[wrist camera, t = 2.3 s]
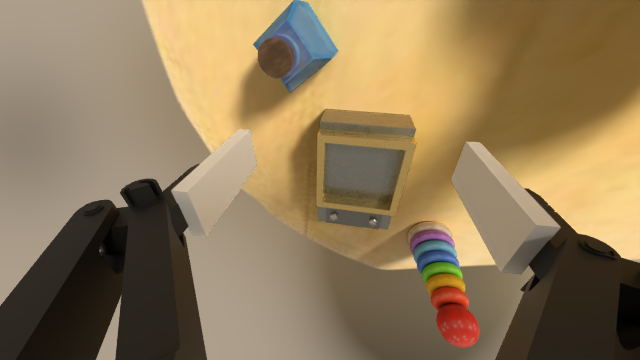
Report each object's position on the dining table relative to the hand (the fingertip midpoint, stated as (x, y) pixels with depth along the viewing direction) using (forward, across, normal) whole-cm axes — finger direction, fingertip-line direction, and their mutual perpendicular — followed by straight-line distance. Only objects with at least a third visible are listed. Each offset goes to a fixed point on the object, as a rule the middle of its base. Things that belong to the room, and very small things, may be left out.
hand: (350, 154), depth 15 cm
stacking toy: (+20, +16, -27) cm, 38 cm away
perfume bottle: (+21, -7, +4) cm, 22 cm away
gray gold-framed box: (+20, +2, -13) cm, 24 cm away
